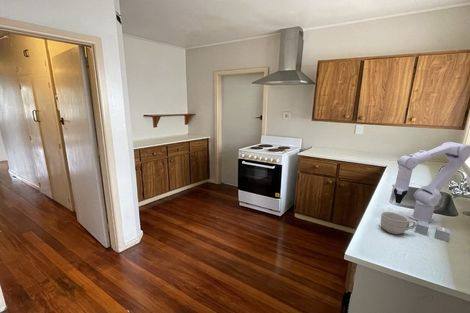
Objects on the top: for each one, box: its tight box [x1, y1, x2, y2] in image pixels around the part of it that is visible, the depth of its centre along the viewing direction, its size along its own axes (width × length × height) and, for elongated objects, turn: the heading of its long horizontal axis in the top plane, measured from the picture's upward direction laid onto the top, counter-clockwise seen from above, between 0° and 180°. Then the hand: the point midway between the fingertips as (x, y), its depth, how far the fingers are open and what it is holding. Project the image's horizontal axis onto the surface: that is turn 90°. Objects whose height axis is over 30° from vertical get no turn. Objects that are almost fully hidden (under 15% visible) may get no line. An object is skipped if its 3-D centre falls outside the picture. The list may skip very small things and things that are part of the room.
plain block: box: [414, 220, 430, 237], centre depth 111 cm, size 4×4×4 cm
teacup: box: [380, 211, 417, 235], centre depth 110 cm, size 14×11×8 cm
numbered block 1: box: [434, 225, 451, 243], centre depth 106 cm, size 4×4×5 cm
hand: (397, 202), depth 121 cm, fingers closed
